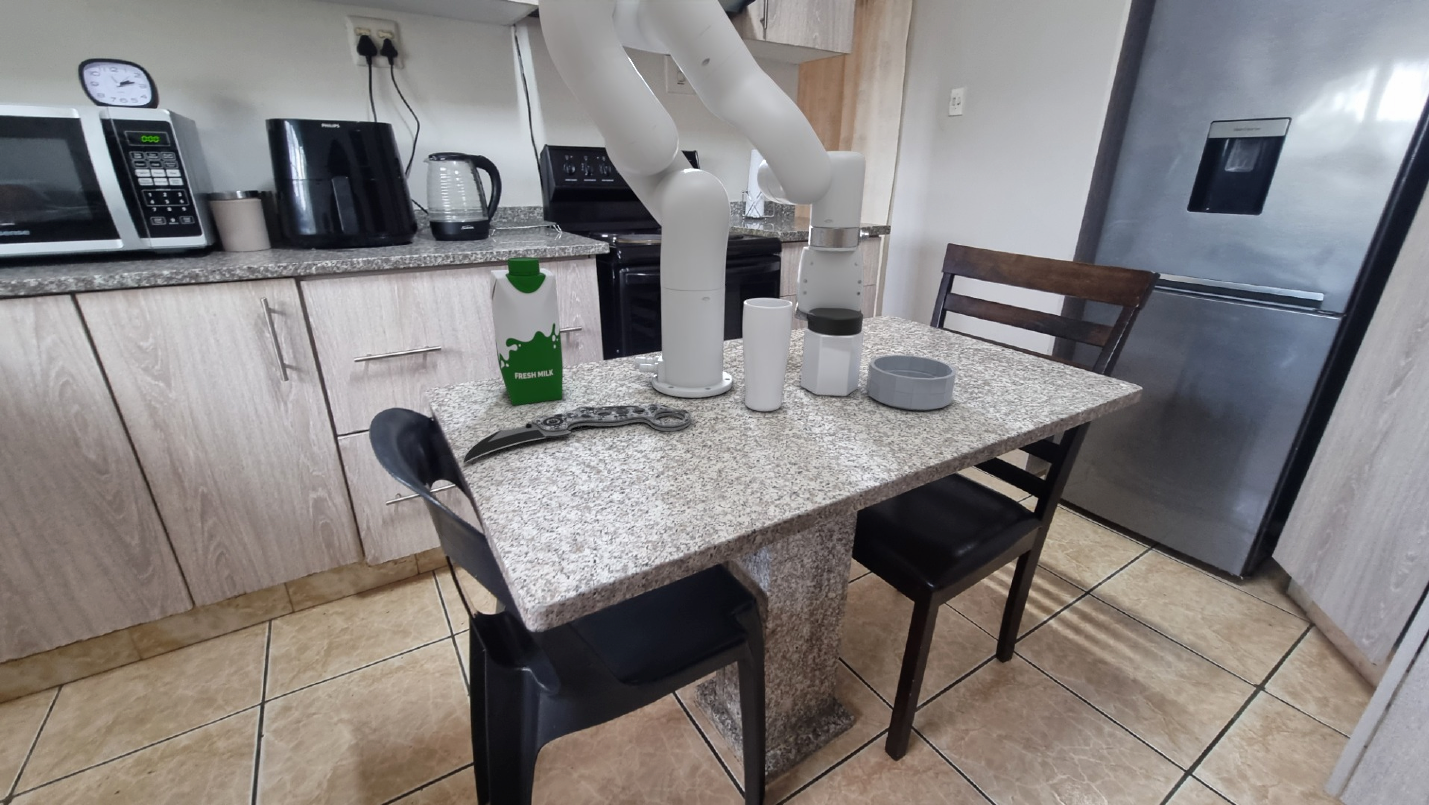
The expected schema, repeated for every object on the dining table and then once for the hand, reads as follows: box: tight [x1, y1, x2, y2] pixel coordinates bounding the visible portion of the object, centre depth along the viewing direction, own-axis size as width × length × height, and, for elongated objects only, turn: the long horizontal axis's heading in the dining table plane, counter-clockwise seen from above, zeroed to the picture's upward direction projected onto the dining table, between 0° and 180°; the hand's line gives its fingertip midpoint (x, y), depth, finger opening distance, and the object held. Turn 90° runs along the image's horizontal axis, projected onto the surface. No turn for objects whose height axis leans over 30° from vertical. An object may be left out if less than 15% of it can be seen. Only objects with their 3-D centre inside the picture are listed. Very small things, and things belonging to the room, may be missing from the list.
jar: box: [799, 308, 865, 397], centre depth 90 cm, size 9×8×12 cm
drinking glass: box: [741, 297, 794, 412], centre depth 81 cm, size 7×7×15 cm
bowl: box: [865, 354, 958, 411], centre depth 87 cm, size 12×12×5 cm
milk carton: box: [489, 256, 564, 406], centre depth 83 cm, size 9×9×20 cm
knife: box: [462, 403, 692, 464], centre depth 73 cm, size 28×2×10 cm
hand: (824, 354), depth 95 cm, fingers closed
